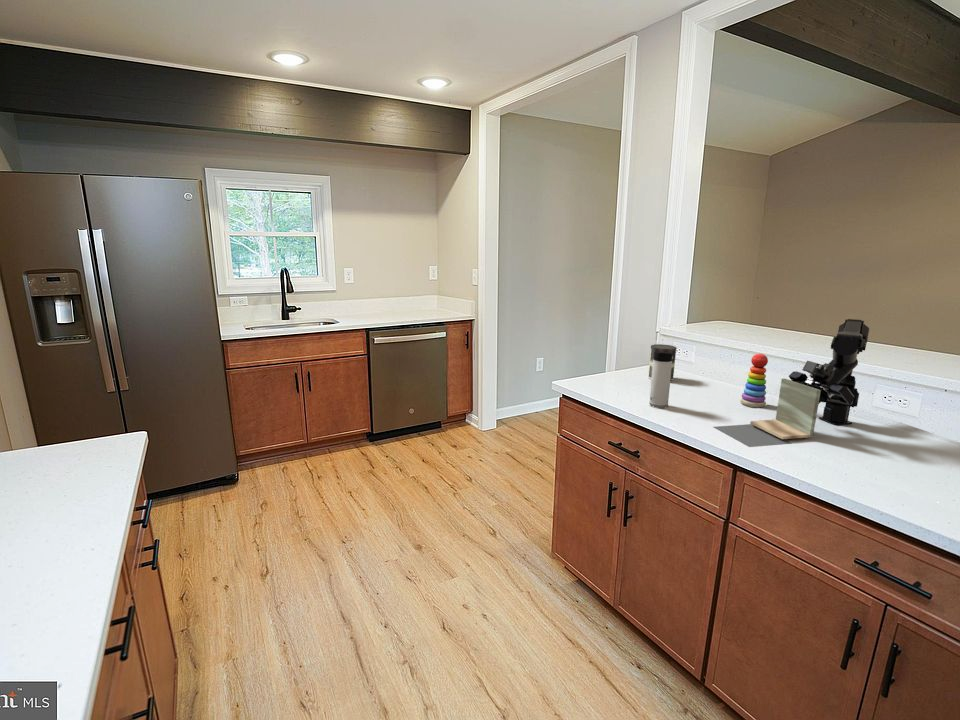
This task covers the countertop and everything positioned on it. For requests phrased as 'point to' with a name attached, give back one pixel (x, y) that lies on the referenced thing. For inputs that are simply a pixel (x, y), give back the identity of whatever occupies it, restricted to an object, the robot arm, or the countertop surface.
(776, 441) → the mat
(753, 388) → the stacking toy
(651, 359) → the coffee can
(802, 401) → the wooden bookend
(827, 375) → the robot arm
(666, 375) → the travel mug
